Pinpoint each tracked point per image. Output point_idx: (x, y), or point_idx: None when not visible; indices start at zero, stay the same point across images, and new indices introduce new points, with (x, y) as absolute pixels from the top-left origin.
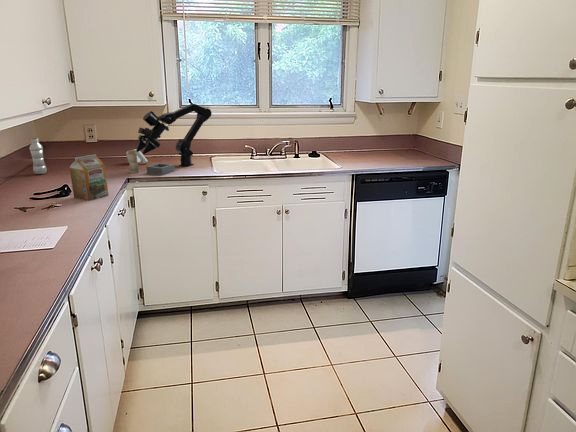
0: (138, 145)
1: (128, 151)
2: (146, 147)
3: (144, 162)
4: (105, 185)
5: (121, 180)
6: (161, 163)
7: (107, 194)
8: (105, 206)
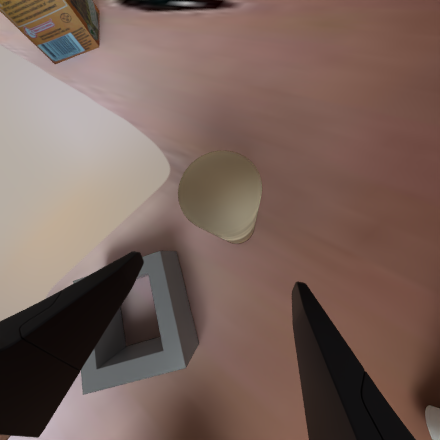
0: (348, 372)
1: (224, 153)
2: (47, 298)
3: (433, 414)
4: (22, 28)
5: (152, 133)
6: (164, 369)
7: (51, 58)
8: (9, 45)
